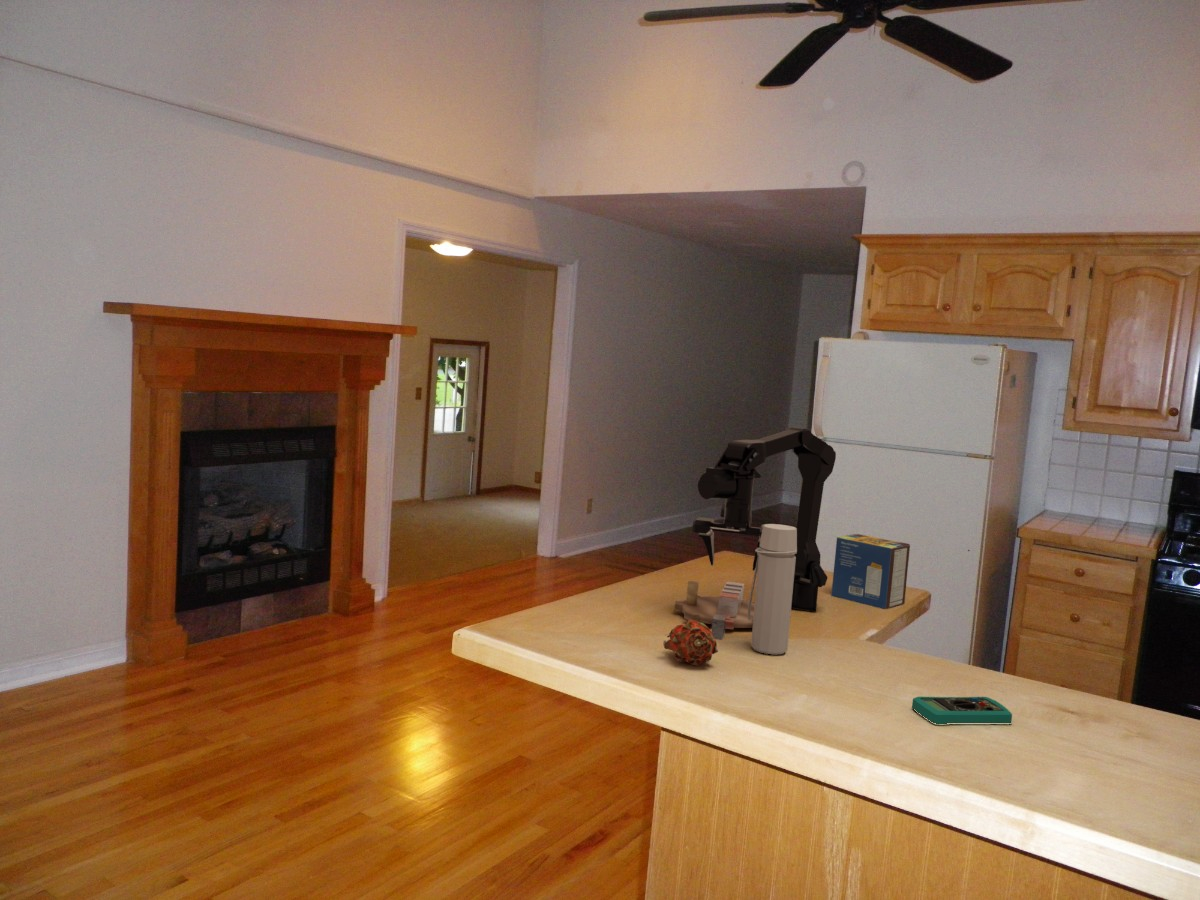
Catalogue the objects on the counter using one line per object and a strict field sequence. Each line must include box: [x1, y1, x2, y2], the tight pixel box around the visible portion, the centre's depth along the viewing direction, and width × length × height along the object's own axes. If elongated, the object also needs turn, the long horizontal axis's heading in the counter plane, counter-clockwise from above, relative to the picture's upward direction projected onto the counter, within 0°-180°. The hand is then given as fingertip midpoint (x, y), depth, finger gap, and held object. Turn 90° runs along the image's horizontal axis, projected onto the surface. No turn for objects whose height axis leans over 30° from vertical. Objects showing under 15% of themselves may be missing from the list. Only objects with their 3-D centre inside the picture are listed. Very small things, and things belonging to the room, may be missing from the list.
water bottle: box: [748, 523, 797, 656], centre depth 179 cm, size 9×8×25 cm
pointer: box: [711, 614, 726, 640], centre depth 187 cm, size 2×5×4 cm, turn 165°
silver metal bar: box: [718, 581, 745, 618], centre depth 201 cm, size 4×16×4 cm, turn 166°
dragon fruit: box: [663, 620, 719, 667], centre depth 169 cm, size 8×8×12 cm
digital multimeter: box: [911, 696, 1013, 724], centre depth 150 cm, size 7×15×3 cm, turn 101°
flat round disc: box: [674, 580, 755, 630], centre depth 201 cm, size 23×23×6 cm
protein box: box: [830, 533, 911, 610], centre depth 229 cm, size 10×15×16 cm
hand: (732, 567), depth 200 cm, fingers open, 9 cm apart
